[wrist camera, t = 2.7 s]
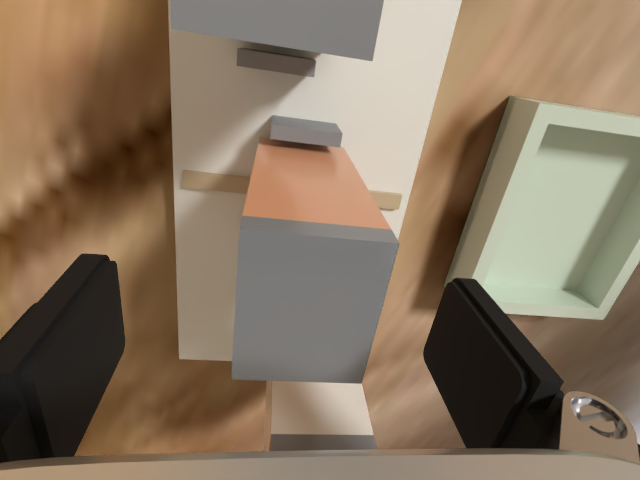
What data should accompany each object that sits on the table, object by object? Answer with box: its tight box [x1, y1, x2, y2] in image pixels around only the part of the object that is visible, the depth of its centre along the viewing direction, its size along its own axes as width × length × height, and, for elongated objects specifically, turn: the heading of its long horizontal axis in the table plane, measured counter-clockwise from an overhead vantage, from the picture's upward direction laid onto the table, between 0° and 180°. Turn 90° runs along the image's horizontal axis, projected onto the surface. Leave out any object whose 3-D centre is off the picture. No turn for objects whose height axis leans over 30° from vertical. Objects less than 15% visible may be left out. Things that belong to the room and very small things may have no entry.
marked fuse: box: [231, 137, 400, 384], centre depth 15 cm, size 4×5×10 cm
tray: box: [443, 96, 640, 320], centre depth 21 cm, size 10×12×2 cm
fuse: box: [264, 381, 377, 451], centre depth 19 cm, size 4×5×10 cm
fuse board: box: [168, 0, 462, 361], centre depth 19 cm, size 12×25×3 cm, turn 172°
